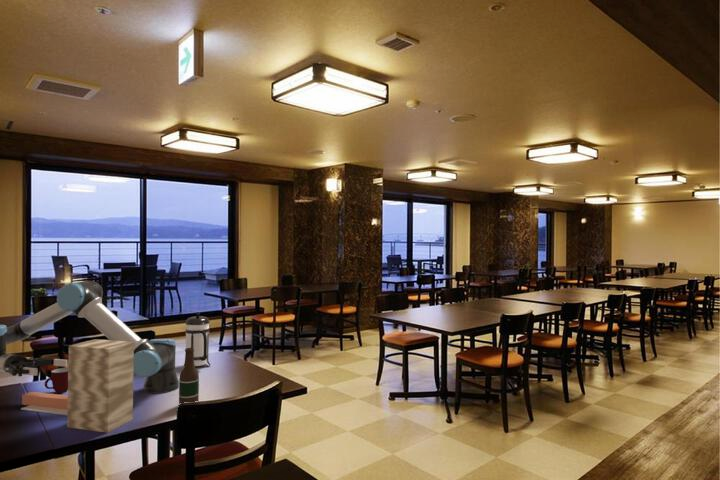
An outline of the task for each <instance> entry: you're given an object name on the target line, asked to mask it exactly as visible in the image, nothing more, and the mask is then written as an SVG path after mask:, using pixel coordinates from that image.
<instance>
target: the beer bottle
mask: <svg viewBox="0 0 720 480" xmlns="http://www.w3.org/2000/svg"><path fill="white" fill-rule="evenodd" d="M184 352H185V354H184V363H185V365H184V364H183V368H182V369H181V371H180V374H179V378H178V380H179V387H178V389H179V390H178V405H179V404H180V403H184V402H195V401H198V402H199V398H200V394H199V390H200V389H199V388H200V384H199V382H200V377H199V372H198V370H197V368H196V366H194V348H187V349H186V348H185V349H184Z"/></svg>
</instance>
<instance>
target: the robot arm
mask: <svg viewBox="0 0 720 480" xmlns="http://www.w3.org/2000/svg"><path fill="white" fill-rule="evenodd" d="M103 294H104V291H103V287H102V286H101V284H99V283H98V282H96V281H93V280H84V281H77V282H76V281H75V282H74V281H73V282H72V281H71V282H69V283H67V284H64V285H63V286H62V287H61V288H60V289H58V292H57V293H56V302H55V303H54V304H52V305H50V306H48V307H45V308H44V309H42V310H40V311H38V312H36V313H34V314H33V315H31V316H29V317H27V318H25V319H23V320H21V321H19V322H17V323H16V324H13V325H11V326H7V325H5V324H0V373H5V374H10V375H11V376H13V377H15V376H17V375H18V377H20V378H21V377H22V376H23V375H25V376H26V375H27V376H38V375H39V374H38V372H39V371H38V367H42V366H43V367H45V366H54V367H55V366H56V367H63V368H67V367H68V359H63V358H62V359H60V356H54V357H34V358H33V359H32V358H27V357H26V356H25V355H21V354H13V353H12V354H11V353H7V345H9V344H10V345H11V344H12V343H16V342H21V341H23V340H26V339H28V338H30V337H31V335H33V334H35V333H37V332H39V331H40V330H43V329H44V328H46V327H48V326H50V325H52V324H54V323H56V322H57V321H60V320H62V319H63V318H65V317H67V316H69V315H71V314H74V315H75V316H77V317H78V318H85V319H86V320H87V321H88V322H89V323H90V324H91V325H92V326H94V327H95V328H96V330H98V331H99V332H100V333H101V334H103V336H104V337H106V338H107V340H113V341H127V342H134V367H133V375H135V376H137V377H142V378H145V381H144V384H143V392H145V393H148V394H149V393H150V394H162V393H166V392H168V393H169V392H171V391H175V390H177V389H179V378H178V375H177V372H176V348H177V345H176V340H175V338H154V339H152V338H151V339H150V340H149V339H148V338H141V337H140V336H139V335H138V334H137V333H136V332H134V331H133V330H132V329H131V328H130V327H129V326H128V325H127V324H126V323H125V322H123V321H122V320H121V319H120V318H119V317H117V315H116V314H115V313H114V312H113V311H111V310H110V309H109V308H108V307H107V306H105V305H104V303H103V302H102V301H103Z"/></svg>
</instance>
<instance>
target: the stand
mask: <svg viewBox="0 0 720 480" xmlns="http://www.w3.org/2000/svg"><path fill="white" fill-rule="evenodd" d="M133 367H134V342H127V341H113V340H109V339H98V338H97V339H96V338H95V339H91V340H86V341H83V342H78V343H75V344H72V345H71V344H70V345H68V359H67V368H68V390H67V395H68V415H66V417H67V418H66V419H67V423H66V425H67V426H66V427H67V428H71V429H78V430H84V431H85V430H86V431H91V432H92V431H93V432H99V433H100V432H102V433H111V432H112V431H114V430H116V429H117V428H120V427H122V426H123V425H125V424H128V423H130V422H131V421H133V419H134V416H133V415H134V413H133V412H134V373H133Z"/></svg>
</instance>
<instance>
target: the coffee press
mask: <svg viewBox="0 0 720 480" xmlns="http://www.w3.org/2000/svg"><path fill="white" fill-rule="evenodd" d="M210 323H211V322H210V320H209V318H208V317H207V316H202V315H201V313H200V312H195V316H191V317H188V318H187V319H186V321H185V349H187V348H194V366H195V367H200V366H206V367H207V368H209V367H211V364H210V362H209V352H210V351H209V350H210V348H209V346H210V345H209V342H210ZM184 365H185V362H184V363H183V366H184Z"/></svg>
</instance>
